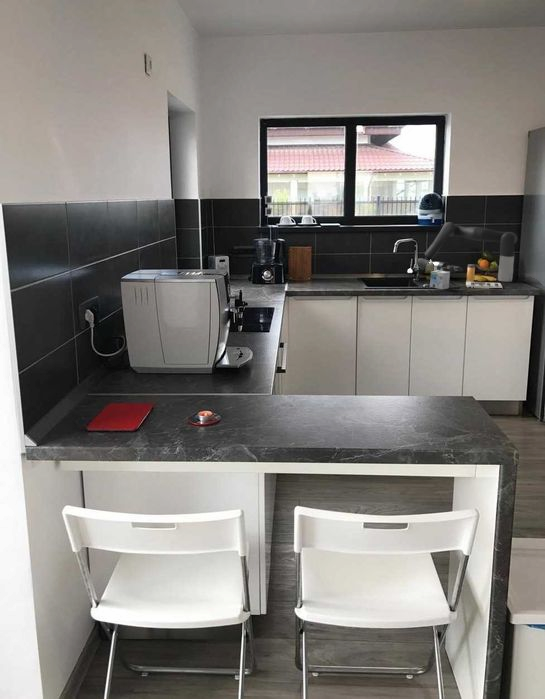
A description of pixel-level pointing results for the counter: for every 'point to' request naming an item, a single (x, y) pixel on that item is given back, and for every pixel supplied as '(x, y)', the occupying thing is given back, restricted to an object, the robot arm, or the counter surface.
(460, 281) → the counter surface
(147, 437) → the counter surface
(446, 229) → the robot arm
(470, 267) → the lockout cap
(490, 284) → the breaker board
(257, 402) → the counter surface
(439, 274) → the light bulb box
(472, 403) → the counter surface
